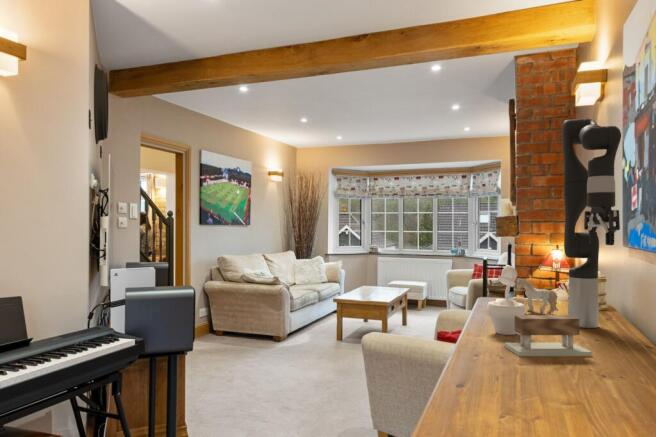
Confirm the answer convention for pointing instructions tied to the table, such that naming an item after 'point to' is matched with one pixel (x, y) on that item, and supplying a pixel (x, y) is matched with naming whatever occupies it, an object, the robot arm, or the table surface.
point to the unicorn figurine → (538, 295)
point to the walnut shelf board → (547, 325)
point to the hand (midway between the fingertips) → (601, 244)
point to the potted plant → (505, 305)
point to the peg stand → (547, 348)
